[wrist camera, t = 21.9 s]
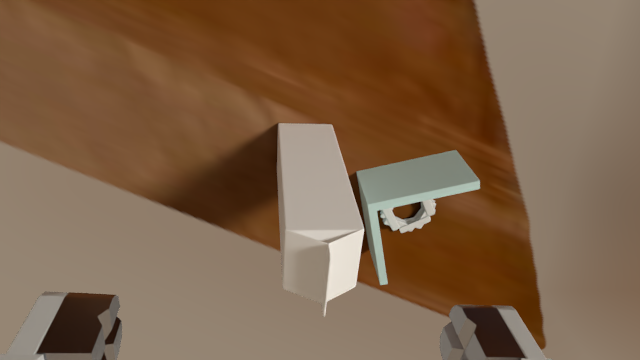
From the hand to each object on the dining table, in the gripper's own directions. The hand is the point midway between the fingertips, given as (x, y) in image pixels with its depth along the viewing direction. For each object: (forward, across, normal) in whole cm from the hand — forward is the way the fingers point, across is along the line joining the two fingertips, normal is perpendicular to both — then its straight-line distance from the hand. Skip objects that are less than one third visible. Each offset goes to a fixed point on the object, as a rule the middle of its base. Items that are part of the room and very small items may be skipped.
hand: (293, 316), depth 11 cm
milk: (+37, -5, +14) cm, 40 cm away
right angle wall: (+38, -19, +20) cm, 47 cm away
